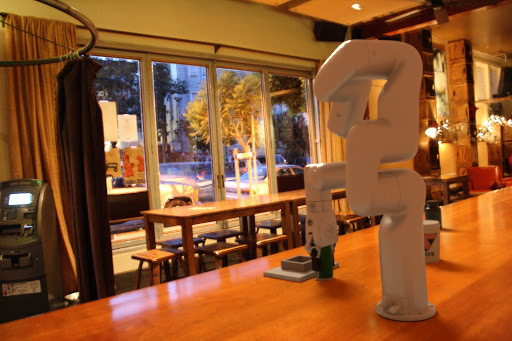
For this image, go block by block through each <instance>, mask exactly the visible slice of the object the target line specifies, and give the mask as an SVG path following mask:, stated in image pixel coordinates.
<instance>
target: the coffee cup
mask: <svg viewBox="0 0 512 341" xmlns="http://www.w3.org/2000/svg"><path fill="white" fill-rule="evenodd" d="M423 231H424V250H425V264H429V263H437V262H440V259H441V258H440V257H441V255H440V254H441V251H440V250H441V229H440V224H439V222H438V221H433V220H425V219H423Z"/></svg>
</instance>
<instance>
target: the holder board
mask: <svg viewBox="0 0 512 341" xmlns="http://www.w3.org/2000/svg"><path fill="white" fill-rule="evenodd" d="M334 262H335V266H334V267H333V269H336V268H338V267H339V266H340V263H339V262H336V261H334ZM262 272H263V274H262V275H263V277H269V278H274V279H280V280H285V281H292V282H298V283H301V282H303V281H305V280H308V279H312V278H313V277H315V272H314V271H313V270H312V260H311V257H310V255H304V254H297V255H294V256H291V257H287V258H284V259H282V260H280V265H279V266H277V267H273V268H271V269H268V270H264V271H262Z"/></svg>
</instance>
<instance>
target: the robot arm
mask: <svg viewBox="0 0 512 341" xmlns="http://www.w3.org/2000/svg"><path fill="white" fill-rule="evenodd" d="M423 67H424V66H423V61H422V57H421V55H420V53H419V51H418V49H417V48H415V46H413V45H411V44H409V43H406V42H403V41H399V40H398V41H397V40H387V39H386V40H383V39H381V40H380V39H375V40H374V39H350V40H346V41H344V42H342V44H340V45H339V46H338V47H337V48H336V49H335V50H334V52H333V53H331V55H330V56H329V57H328V58H327V59H326V60H325V62H323V63H322V66H321V67H320V68H319V69H318V72H317V73H316V75H315V77H314V81H313V94H314V97H315V98H316V100H318V102H320V103H331V105H330V111H329V115H328V119H327V123H326V126H327V127H326V128H327V130H328V131H329V132H331V133H332V134H333V135H335V136H338V137H339V138H341V139H343V140H345V148H344V150H345V151H344V152H345V153H344V154H345V155H344V156H345V157H344V158H345V160H343V161H331V162H323V163H322V162H321V163H309V164H306V165H305V166H304V168H303V182H304V194H305V204H306V205H305V208H306V210H305V211H306V213H305V241H306V242H305V245H304V250H305V251H306V252H307V253H308V256H310V257H311V260H312V270H313V271H317V272H322V258H320V252H321V248H324V247H327V246H329V245H331V247H332V261H333V267H334V266H335V262H336V261H335V252H336V246H337V243H338V242H339V230H338V222H337V217H336V214H335V213H336V212H335V210H334V209H333V206H334V205H333V195H332V194H333V192H332V191H335V190H341V189H342V190H343V189H344V190H345V196H346V197H345V198H346V201H347V205H348V207H349V209H350V211H352V213H354V214H355V215H357V216H359V217H375V216H382V215H383V216H382V218H381V220H380V223H379V227H378V231H377V232H378V235H377V236H378V251H379V254H378V255H379V269H380V282H381V300H380V301H378V302H377V303H376V304H375V306H374V311H375V313H376V314H377V315H380V316H381V317H383V318H386V319H388V320H389V319H390V320H393V321H400V322H411V321H412V322H415V321H424V320H428V319H430V318H433V317H434V316H435V315H436V312H437V308H436V306H435V304H434V303H432V302H431V301H428V300H429V299H428V287H427V286H428V285H427V283H428V282H427V272H426V271H427V270H426V263H425V250H424V231H423V220H424V215H425V211H424V210H425V205H426V197H427V186H426V183H425V180H424V178H423V177H422V175H421V174H420V173H419V172H417V171H415V170H413V169H411V168H405V167H400V168H399V167H397V168H386V169H379V167H380V165H383V164H384V165H385V164H395V163H403V162H407V161H410V160H412V159H414V157H415V156H416V155H417V153H418V150H419V143H420V142H419V141H420V93H421V86H422V85H421V84H422V81H423V80H422V78H423V72H424V71H423V70H424V69H423ZM374 80H375V81H376V80H378V81H379V80H381V81H382V80H383V81H384V80H385V81H386V82H385V83H384V84H383V86H382V88H381V89H380V92H379V94H378V98H377V103H376V104H377V115H376V117H377V118H376V119H375V118H374V119H372V118H371V119H364V116H365V112H366V108H367V105H368V102H369V98H370V94H371V91H372V85H373V81H374ZM314 244H315V245H316V246H314ZM317 246H318V247H317ZM314 249H317V252H316V251H315V250H314Z"/></svg>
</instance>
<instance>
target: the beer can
mask: <svg viewBox="0 0 512 341" xmlns="http://www.w3.org/2000/svg"><path fill="white" fill-rule="evenodd" d="M314 246H316V245H315V244H314ZM317 247H318V246H317ZM314 250H315V251H316V252H317V249H314ZM320 258H322V272H317V271H314V272H315V276H314V277H315V280H317V281H322V282H323V281H324V282H325V281H327V282H328V281H332V280H333V279H334V268H333V261H332V247H331V245H329V246H327V247H324V248H321V252H320Z"/></svg>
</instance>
